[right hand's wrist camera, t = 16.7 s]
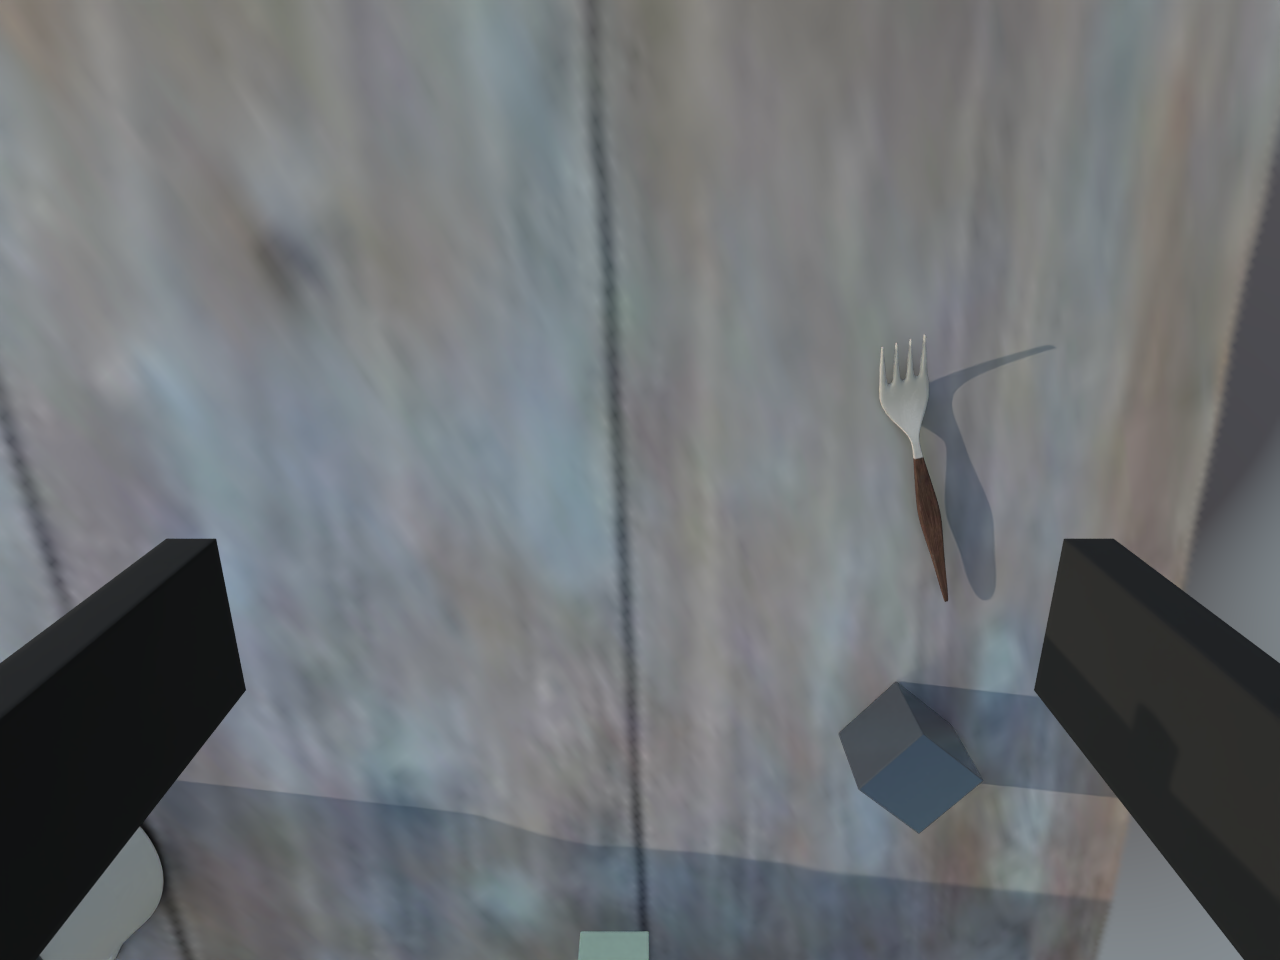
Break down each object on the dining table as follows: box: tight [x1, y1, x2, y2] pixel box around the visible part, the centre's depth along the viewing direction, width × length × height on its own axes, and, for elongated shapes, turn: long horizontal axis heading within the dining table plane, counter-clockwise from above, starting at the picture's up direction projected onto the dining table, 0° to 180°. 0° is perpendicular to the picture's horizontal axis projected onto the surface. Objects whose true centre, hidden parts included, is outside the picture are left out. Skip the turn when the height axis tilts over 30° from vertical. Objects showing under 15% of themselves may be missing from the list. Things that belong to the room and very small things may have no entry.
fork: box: [879, 334, 948, 602], centre depth 43 cm, size 3×16×2 cm, turn 17°
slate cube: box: [839, 682, 983, 833], centre depth 48 cm, size 5×5×5 cm
